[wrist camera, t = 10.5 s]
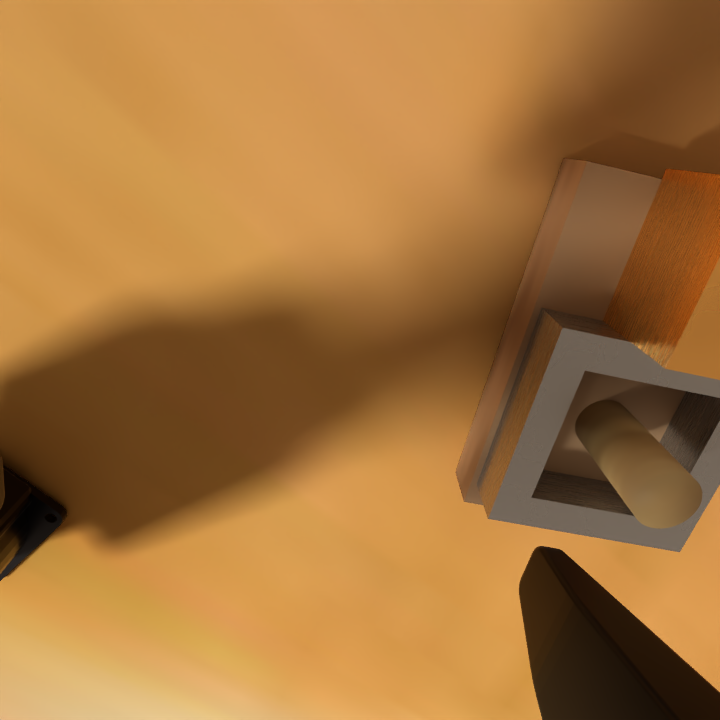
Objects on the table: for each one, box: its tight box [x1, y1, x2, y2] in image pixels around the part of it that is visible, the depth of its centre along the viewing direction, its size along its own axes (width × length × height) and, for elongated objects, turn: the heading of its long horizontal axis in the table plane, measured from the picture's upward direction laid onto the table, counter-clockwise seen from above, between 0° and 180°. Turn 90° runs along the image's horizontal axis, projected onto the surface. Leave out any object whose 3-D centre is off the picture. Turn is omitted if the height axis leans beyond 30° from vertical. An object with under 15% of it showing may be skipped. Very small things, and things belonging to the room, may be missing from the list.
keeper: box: [456, 158, 702, 529], centre depth 18 cm, size 13×8×6 cm, turn 168°
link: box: [477, 169, 720, 552], centre depth 17 cm, size 12×7×4 cm, turn 168°
